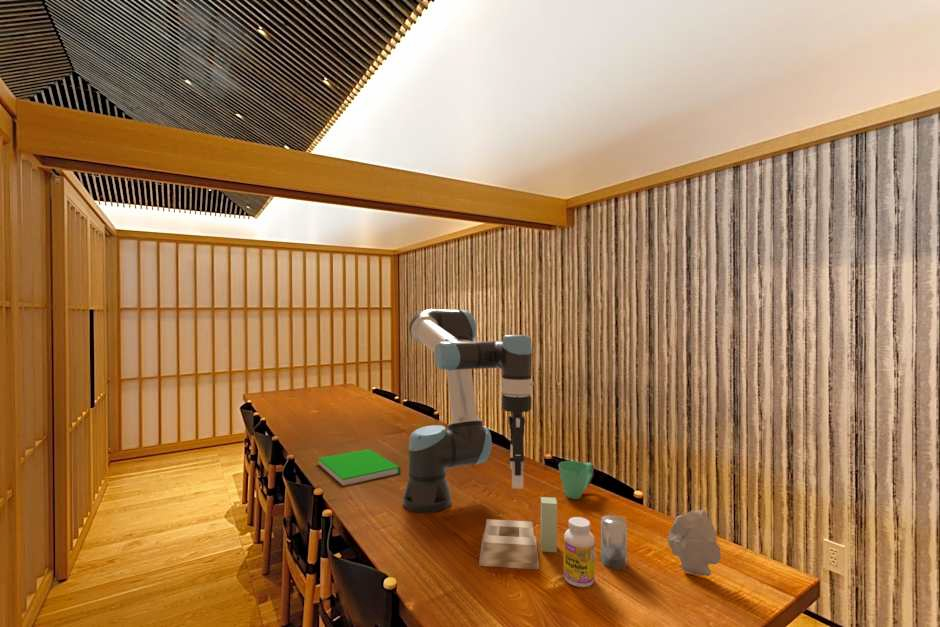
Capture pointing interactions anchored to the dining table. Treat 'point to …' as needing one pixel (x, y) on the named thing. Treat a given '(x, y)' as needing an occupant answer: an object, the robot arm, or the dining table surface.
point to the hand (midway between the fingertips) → (516, 478)
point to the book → (358, 466)
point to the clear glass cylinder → (614, 542)
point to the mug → (575, 477)
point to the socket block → (509, 545)
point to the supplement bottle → (579, 553)
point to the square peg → (548, 524)
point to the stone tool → (694, 542)
